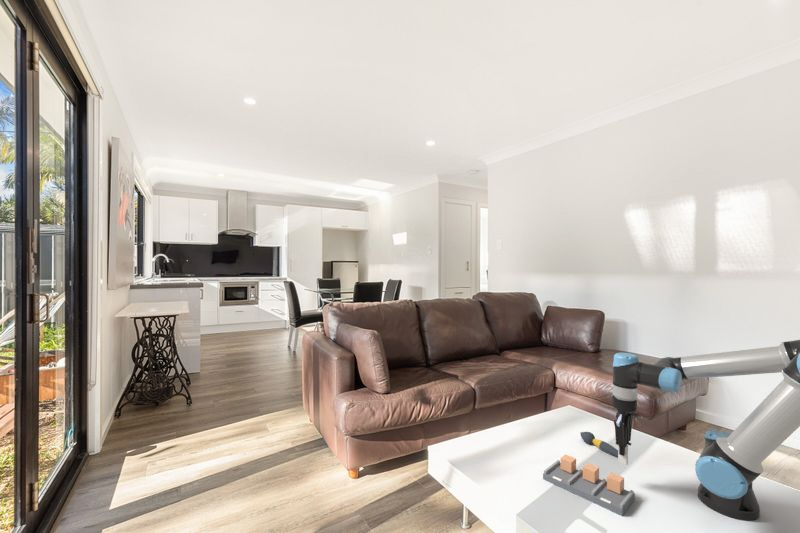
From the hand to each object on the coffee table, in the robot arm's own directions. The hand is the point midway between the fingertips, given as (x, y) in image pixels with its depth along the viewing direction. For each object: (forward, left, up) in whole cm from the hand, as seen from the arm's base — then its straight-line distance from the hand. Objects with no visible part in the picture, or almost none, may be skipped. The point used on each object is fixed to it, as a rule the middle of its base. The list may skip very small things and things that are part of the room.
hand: (622, 462), depth 131 cm
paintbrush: (+15, -22, -9) cm, 28 cm away
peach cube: (+8, +8, -6) cm, 13 cm away
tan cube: (+16, +8, -6) cm, 19 cm away
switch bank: (+8, +12, -8) cm, 16 cm away
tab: (0, +8, -6) cm, 10 cm away
